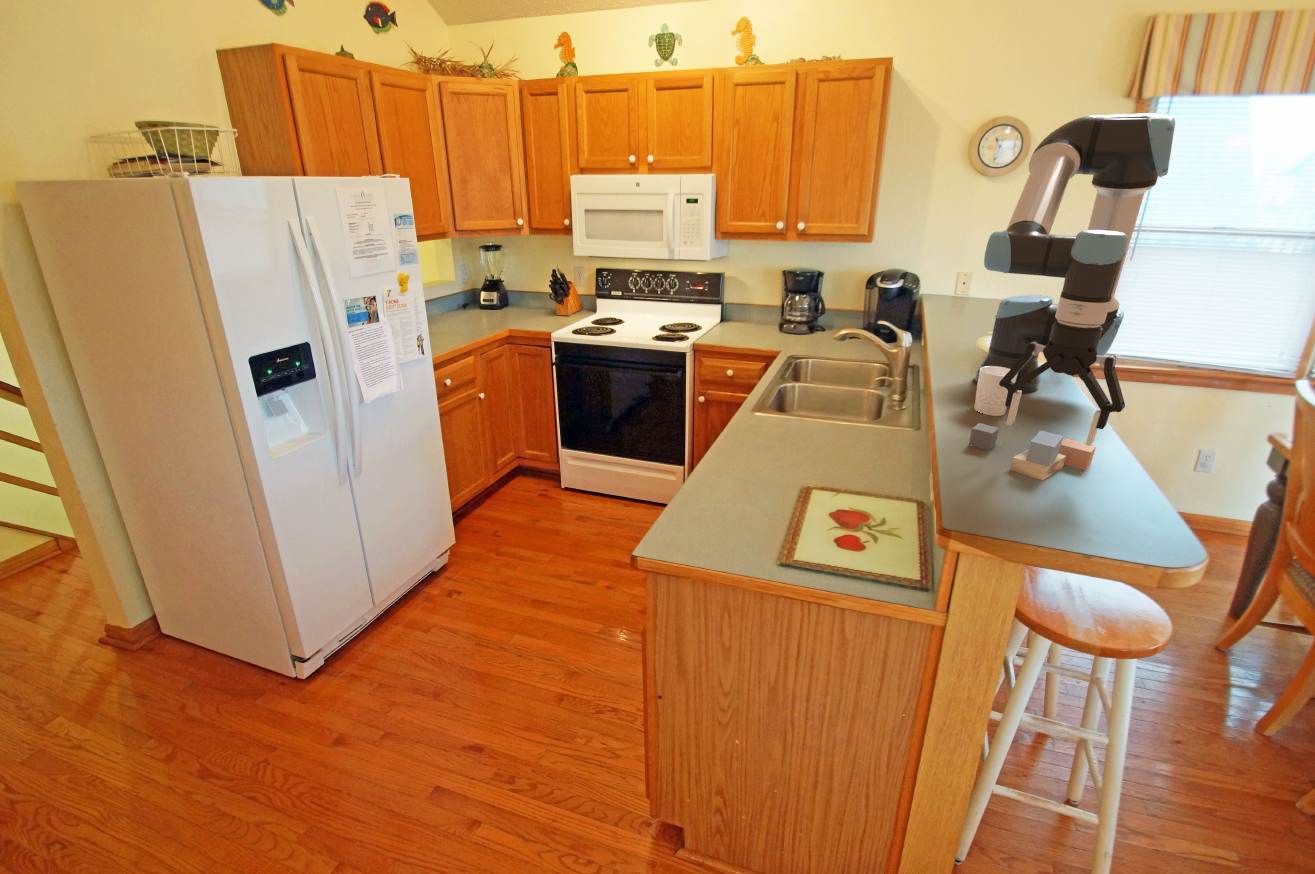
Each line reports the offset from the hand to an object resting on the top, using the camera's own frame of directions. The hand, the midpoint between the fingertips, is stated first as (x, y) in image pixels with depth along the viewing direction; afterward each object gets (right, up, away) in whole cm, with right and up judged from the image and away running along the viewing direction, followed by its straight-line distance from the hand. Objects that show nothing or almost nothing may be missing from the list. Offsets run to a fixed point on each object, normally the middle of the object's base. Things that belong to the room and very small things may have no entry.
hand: (1048, 433), depth 122 cm
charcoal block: (-6, -3, +13) cm, 15 cm away
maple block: (0, -7, +3) cm, 8 cm away
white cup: (+5, +5, +32) cm, 32 cm away
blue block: (0, -5, +2) cm, 5 cm away
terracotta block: (+8, -6, +6) cm, 11 cm away
